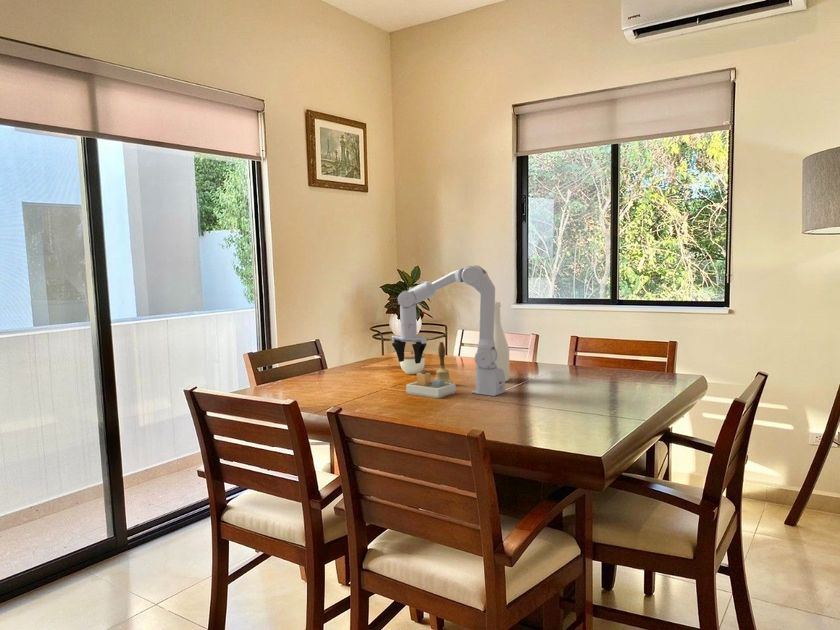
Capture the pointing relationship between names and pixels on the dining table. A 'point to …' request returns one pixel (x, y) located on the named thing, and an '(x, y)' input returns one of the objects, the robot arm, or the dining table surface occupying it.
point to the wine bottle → (501, 344)
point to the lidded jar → (412, 363)
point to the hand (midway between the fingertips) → (409, 362)
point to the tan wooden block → (423, 378)
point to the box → (431, 389)
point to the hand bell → (442, 366)
